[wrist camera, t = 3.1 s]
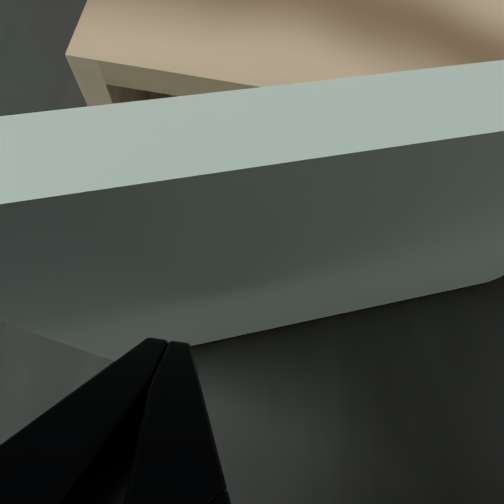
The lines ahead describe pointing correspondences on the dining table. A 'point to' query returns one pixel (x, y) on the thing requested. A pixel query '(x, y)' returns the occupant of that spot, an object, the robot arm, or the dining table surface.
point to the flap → (250, 206)
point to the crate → (269, 43)
